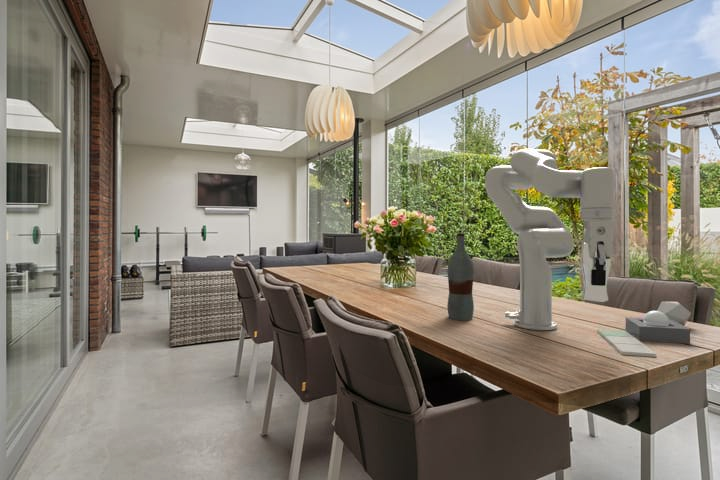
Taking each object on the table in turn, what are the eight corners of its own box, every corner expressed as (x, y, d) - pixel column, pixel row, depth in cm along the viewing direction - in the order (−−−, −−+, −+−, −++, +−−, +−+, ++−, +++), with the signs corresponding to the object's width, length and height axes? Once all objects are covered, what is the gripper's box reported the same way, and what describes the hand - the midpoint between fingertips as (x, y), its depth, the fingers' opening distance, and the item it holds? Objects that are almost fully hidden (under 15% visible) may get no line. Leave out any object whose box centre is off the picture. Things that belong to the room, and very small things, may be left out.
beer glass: (574, 297, 112) (575, 242, 111) (598, 296, 112) (599, 242, 111) (590, 302, 105) (591, 243, 104) (616, 301, 105) (617, 243, 105)
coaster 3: (621, 354, 103) (621, 351, 103) (612, 346, 110) (612, 343, 110) (656, 357, 101) (656, 353, 101) (644, 348, 108) (645, 345, 108)
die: (691, 333, 126) (700, 306, 129) (664, 318, 127) (673, 292, 130) (671, 335, 134) (680, 310, 136) (646, 322, 135) (655, 297, 138)
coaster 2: (612, 345, 111) (612, 342, 111) (604, 338, 118) (604, 335, 118) (644, 347, 108) (644, 344, 108) (634, 340, 116) (634, 337, 116)
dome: (647, 333, 117) (648, 312, 117) (640, 328, 123) (640, 308, 123) (672, 334, 116) (672, 313, 116) (663, 329, 121) (663, 309, 121)
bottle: (441, 316, 147) (441, 233, 146) (460, 314, 152) (461, 233, 151) (460, 321, 139) (460, 233, 138) (479, 318, 144) (479, 233, 143)
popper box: (639, 340, 116) (639, 326, 115) (625, 330, 127) (625, 317, 127) (690, 343, 112) (690, 329, 112) (671, 332, 123) (671, 319, 123)
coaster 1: (603, 337, 118) (603, 335, 118) (597, 331, 125) (597, 328, 125) (633, 339, 116) (633, 337, 116) (625, 333, 123) (625, 330, 123)
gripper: (622, 214, 98) (621, 289, 99) (603, 215, 115) (602, 279, 115) (587, 215, 100) (586, 287, 101) (574, 216, 117) (572, 278, 118)
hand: (594, 282), depth 108 cm, fingers closed on beer glass, 6 cm apart
